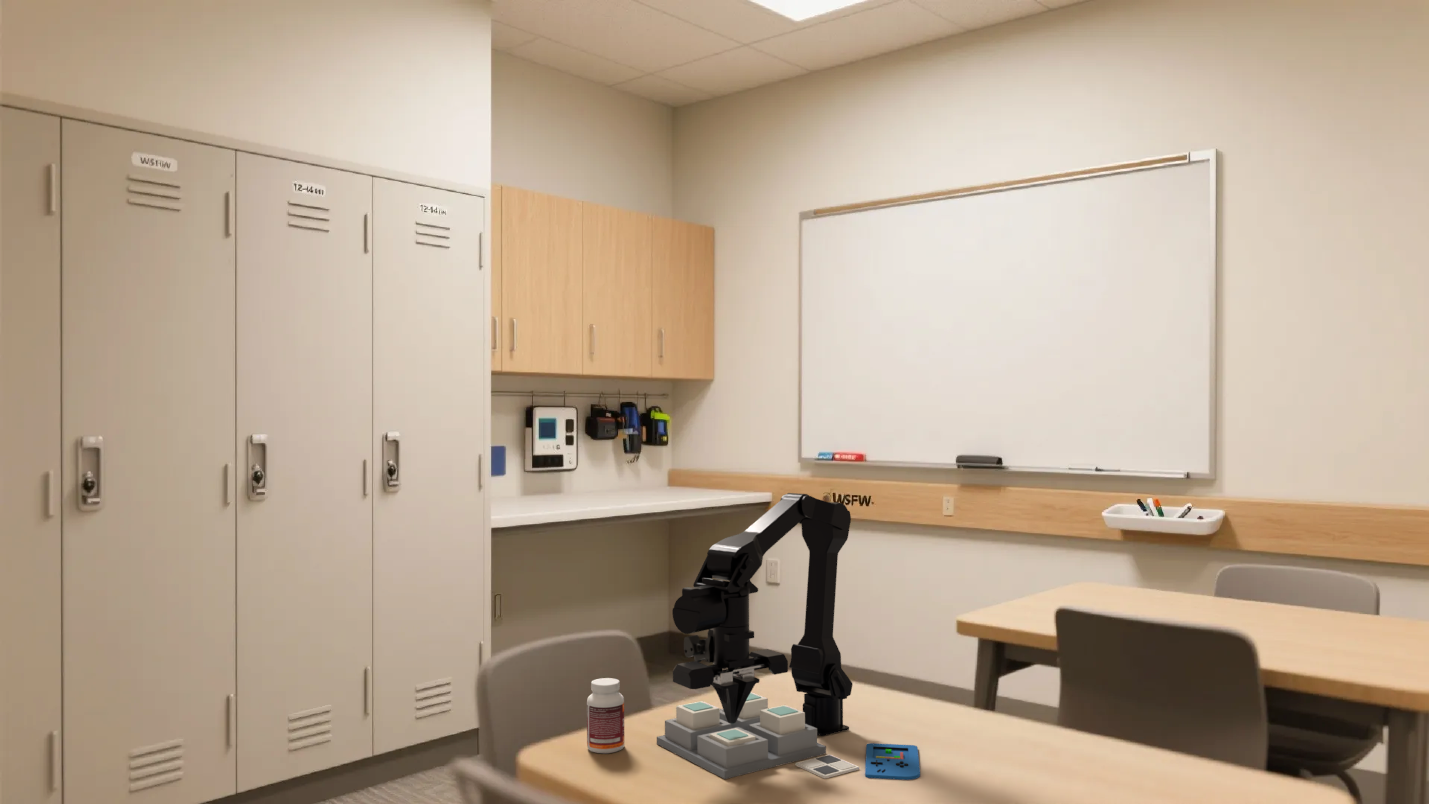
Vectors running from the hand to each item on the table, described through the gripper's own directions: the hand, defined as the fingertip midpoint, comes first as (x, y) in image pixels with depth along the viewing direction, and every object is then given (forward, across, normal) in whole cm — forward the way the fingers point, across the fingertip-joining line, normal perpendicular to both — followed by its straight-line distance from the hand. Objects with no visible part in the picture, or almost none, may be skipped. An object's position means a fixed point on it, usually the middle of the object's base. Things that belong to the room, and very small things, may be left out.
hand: (731, 723), depth 159 cm
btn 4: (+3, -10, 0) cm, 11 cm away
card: (+6, -11, +10) cm, 16 cm away
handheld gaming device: (+7, -21, +14) cm, 26 cm away
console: (+6, -5, -5) cm, 10 cm away
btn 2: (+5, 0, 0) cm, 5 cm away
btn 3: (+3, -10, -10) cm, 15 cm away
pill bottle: (+7, +13, -18) cm, 23 cm away
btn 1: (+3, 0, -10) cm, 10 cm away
